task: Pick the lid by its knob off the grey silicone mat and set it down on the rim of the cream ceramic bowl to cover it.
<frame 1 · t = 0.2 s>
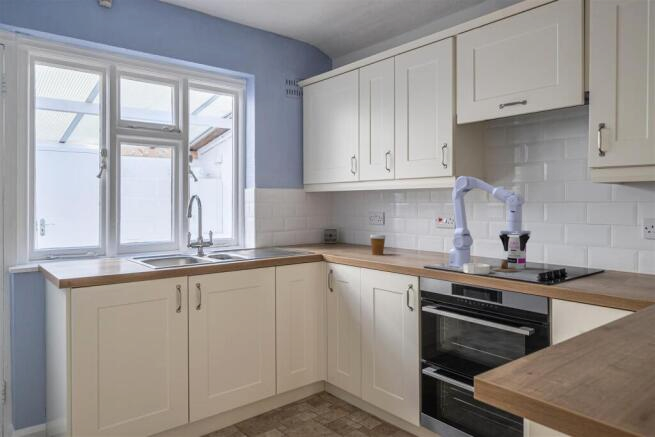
hand: (514, 251, 208), 10 cm above the countertop, fingers open, 7 cm apart
supplement can: (516, 269, 219), on the countertop
mat: (501, 271, 211), on the countertop
lid: (504, 270, 210), resting on mat
disposable coffee cup: (377, 255, 275), on the countertop
bowl: (476, 272, 206), on the countertop
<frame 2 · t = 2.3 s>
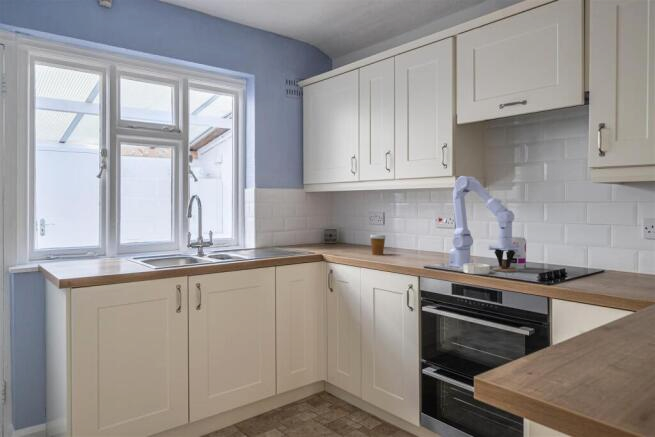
hand: (504, 266, 210), 2 cm above the countertop, fingers closed on lid, 3 cm apart
lid: (504, 270, 210), resting on mat, touching gripper
everything else where it was.
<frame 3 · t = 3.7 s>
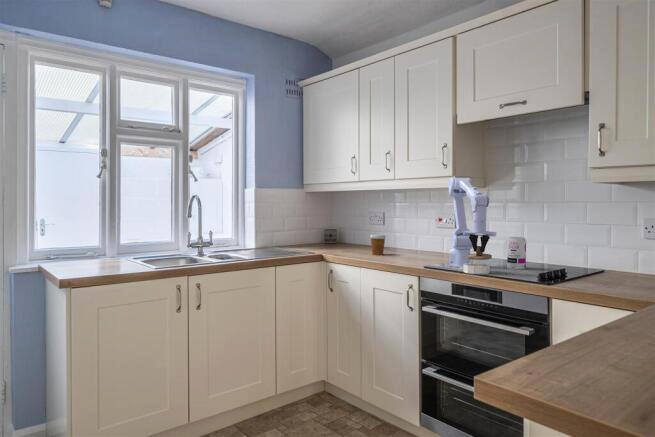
hand: (479, 251, 206), 9 cm above the countertop, fingers closed on lid, 3 cm apart
lid: (479, 257, 207), point 7 cm above the countertop, touching gripper
everything else where it was.
when the fingers open (7 cm above the countertop, at t = 5.0 s): lid stays where it is, resting on bowl.
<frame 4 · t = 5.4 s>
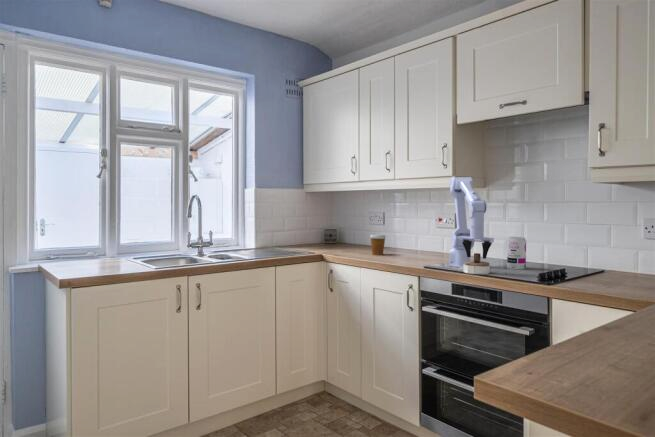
hand: (476, 257, 206), 7 cm above the countertop, fingers open, 7 cm apart
lid: (477, 264, 206), point 4 cm above the countertop, touching bowl
everything else where it was.
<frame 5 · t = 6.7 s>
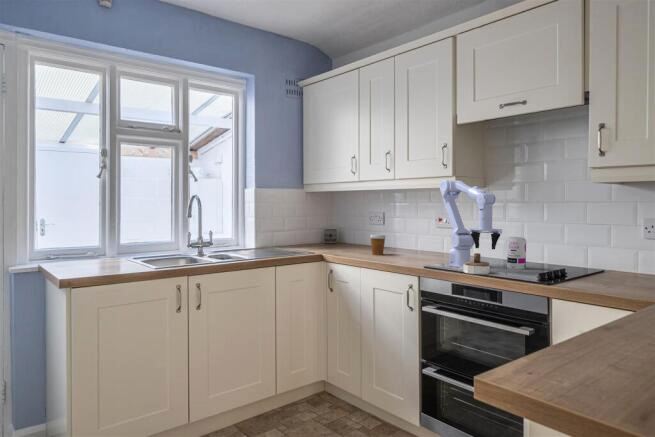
hand: (485, 248, 211), 10 cm above the countertop, fingers open, 7 cm apart
nothing on the countertop moved.
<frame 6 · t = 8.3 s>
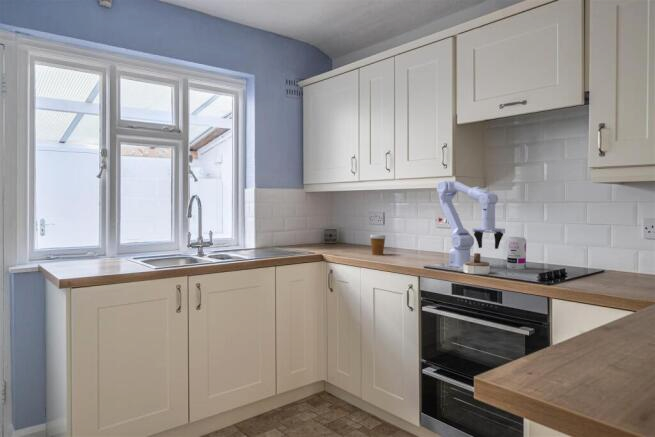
hand: (488, 248, 212), 10 cm above the countertop, fingers open, 7 cm apart
nothing on the countertop moved.
at the end: lid 0.6 cm from the bowl (horizontally); lid point 3.6 cm above the countertop; lid tilted 0° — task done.
